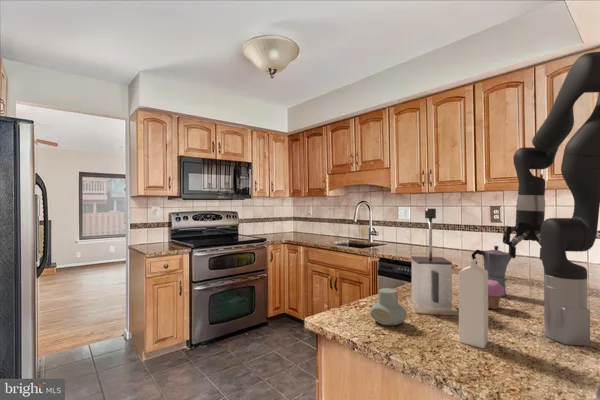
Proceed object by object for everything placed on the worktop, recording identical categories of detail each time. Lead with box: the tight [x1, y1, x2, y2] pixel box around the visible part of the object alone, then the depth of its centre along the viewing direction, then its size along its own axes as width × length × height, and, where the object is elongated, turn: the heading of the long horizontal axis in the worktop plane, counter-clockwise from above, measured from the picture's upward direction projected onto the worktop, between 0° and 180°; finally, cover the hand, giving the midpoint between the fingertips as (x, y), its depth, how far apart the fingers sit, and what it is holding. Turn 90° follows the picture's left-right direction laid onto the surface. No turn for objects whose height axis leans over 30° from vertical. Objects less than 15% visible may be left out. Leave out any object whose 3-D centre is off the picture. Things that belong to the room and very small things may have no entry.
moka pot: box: [471, 245, 512, 298], centre depth 132 cm, size 10×15×20 cm, turn 78°
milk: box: [458, 258, 489, 349], centre depth 86 cm, size 6×6×22 cm
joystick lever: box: [424, 208, 437, 260], centre depth 114 cm, size 9×9×24 cm
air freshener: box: [369, 287, 407, 327], centre depth 100 cm, size 11×8×10 cm
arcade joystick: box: [406, 256, 459, 316], centre depth 114 cm, size 14×14×17 cm
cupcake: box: [488, 280, 506, 310], centre depth 114 cm, size 9×9×10 cm
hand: (527, 258), depth 104 cm, fingers open, 8 cm apart
